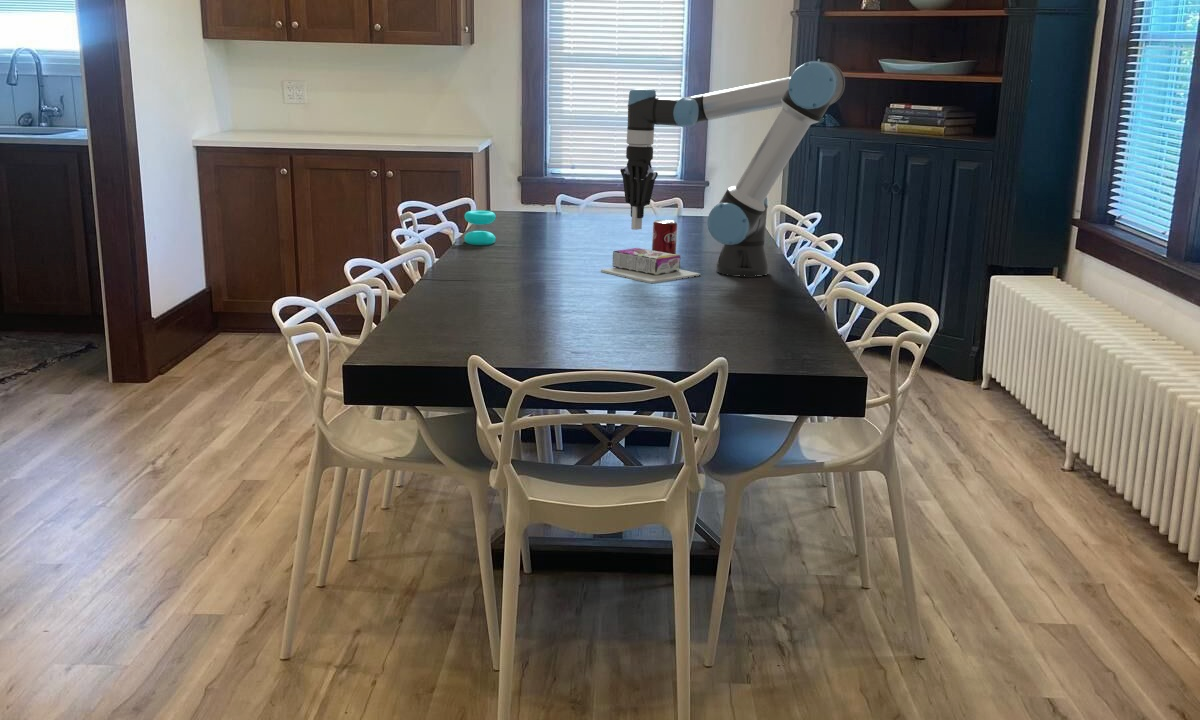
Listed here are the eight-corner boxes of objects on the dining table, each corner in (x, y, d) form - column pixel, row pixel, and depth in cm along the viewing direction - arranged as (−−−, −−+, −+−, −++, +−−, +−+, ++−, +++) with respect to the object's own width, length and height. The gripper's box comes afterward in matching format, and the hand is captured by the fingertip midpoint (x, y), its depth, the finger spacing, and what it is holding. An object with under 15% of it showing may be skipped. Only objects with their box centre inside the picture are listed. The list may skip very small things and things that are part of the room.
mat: (700, 275, 318) (700, 273, 318) (650, 283, 305) (650, 281, 305) (650, 264, 332) (650, 262, 332) (601, 271, 319) (601, 269, 319)
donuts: (466, 209, 362) (497, 210, 362) (466, 240, 365) (497, 241, 365) (462, 213, 352) (494, 214, 352) (462, 245, 355) (493, 246, 355)
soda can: (647, 261, 338) (649, 221, 335) (657, 258, 344) (659, 219, 341) (669, 264, 335) (671, 224, 332) (679, 260, 341) (681, 221, 338)
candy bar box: (637, 246, 330) (681, 254, 320) (636, 263, 331) (680, 271, 321) (612, 249, 322) (657, 258, 311) (611, 267, 323) (656, 276, 313)
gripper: (666, 146, 312) (661, 231, 318) (633, 143, 321) (630, 225, 327) (646, 147, 307) (643, 233, 313) (614, 143, 316) (611, 227, 322)
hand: (636, 229), depth 320 cm, fingers closed
